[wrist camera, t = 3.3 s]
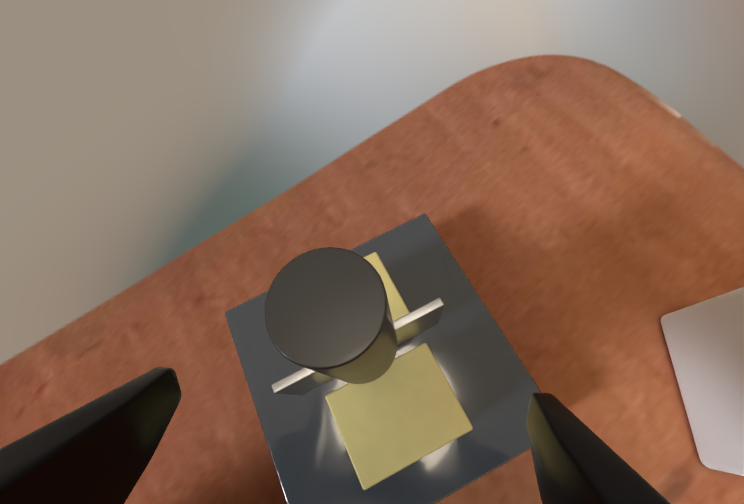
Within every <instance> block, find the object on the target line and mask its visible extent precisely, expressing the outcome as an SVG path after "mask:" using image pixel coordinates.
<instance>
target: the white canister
mask: <svg viewBox="0 0 744 504" xmlns="http://www.w3.org/2000/svg"><path fill="white" fill-rule="evenodd" d="M661 325H662V329H663V332H664V336H665V339H666V343H667V346H668V350H669V353H670V357H671V360H672V364H673V367H674V371H675V374H676V378H677V381H678V385H679V388H680V392H681V395H682V399H683V402H684V406H685V409H686V413H687V416H688V420H689V423H690V427H691V430H692V434H693V437H694V441H695V444H696V448H697V451H698V455H699V458H700V461H701V462H702V464H703V465H705V466H706V467H707V468H710V469H713V470H718V471H722V472H727V473H732V474H736V475H741V476H744V287H742V288H739V289H736V290H733V291H730V292H728V293H725V294H722V295H719V296H716V297H713V298H711V299H708V300H705V301H702V302H699V303H697V304H694V305H691V306H688V307H685V308H683V309H680V310H677V311H674V312H671V313H668V314H666V315H664V316H663V317H662V318H661Z"/></svg>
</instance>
